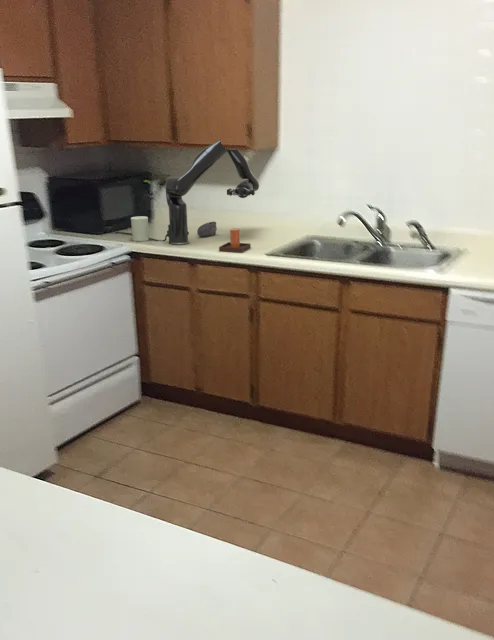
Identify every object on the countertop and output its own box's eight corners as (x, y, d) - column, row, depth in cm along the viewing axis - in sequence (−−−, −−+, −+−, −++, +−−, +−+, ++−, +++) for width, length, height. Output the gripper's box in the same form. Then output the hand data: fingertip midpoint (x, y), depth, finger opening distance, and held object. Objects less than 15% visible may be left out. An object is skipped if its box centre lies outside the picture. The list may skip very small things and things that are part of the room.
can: (134, 241, 354) (132, 218, 349) (130, 238, 362) (129, 216, 357) (151, 240, 356) (149, 217, 352) (147, 237, 364) (146, 214, 360)
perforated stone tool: (201, 238, 359) (200, 225, 356) (194, 237, 362) (193, 224, 359) (219, 234, 369) (219, 221, 367) (212, 233, 373) (212, 220, 370)
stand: (219, 251, 330) (219, 246, 329) (228, 246, 340) (228, 242, 339) (241, 253, 326) (241, 248, 325) (250, 247, 336) (250, 243, 335)
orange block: (228, 248, 332) (228, 229, 328) (232, 246, 336) (232, 228, 332) (237, 248, 330) (237, 230, 326) (241, 246, 334) (241, 228, 330)
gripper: (230, 182, 355) (224, 186, 340) (257, 182, 353) (252, 186, 338) (231, 196, 358) (224, 201, 343) (257, 197, 356) (252, 201, 341)
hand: (238, 193), depth 341 cm, fingers open, 8 cm apart
